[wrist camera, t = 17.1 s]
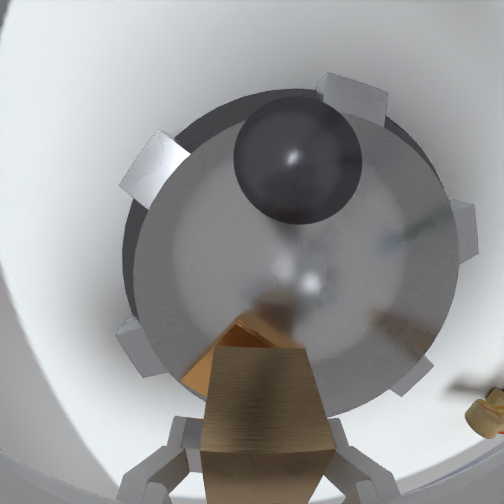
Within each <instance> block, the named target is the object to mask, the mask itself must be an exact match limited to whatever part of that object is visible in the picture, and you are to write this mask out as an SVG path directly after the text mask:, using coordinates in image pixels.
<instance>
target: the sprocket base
mask: <svg viewBox="0 0 504 504" xmlns="http://www.w3.org/2000/svg"><path fill="white" fill-rule="evenodd" d="M315 94H316V90H308V89H284V90H272V91H266V92H261V93H257V94H253V95H249V96H245V97H242V98H239V99H237V100H234V101H232V102H229V103H227V104H224V105H222V106H219V107H218V108H216V109H214V110H212V111H211V112H209V113H207V114H206V115H204V116H202V117H201V118H199V119H197V120H196V121H194V122H193V123H192V124H191V125H189V126H188V127H187V128H186V129H184V130H183V131H182V132H181V133H180V134H178V135H177V136H176V137H175V139H176V140H177V141H178V142H180V143H181V144H182V145H184V146H185V147H186V148H188V149H189V150H190V151H191V152H194V151H195V150H196V149H197V148H198V147H200V146H201V145H202V144H203V143H204V142H206V141H208V140H209V139H211V138H212V137H214V136H216V135H217V134H219V133H220V132H222V131H224V130H225V129H227V128H229V127H231V126H234V125H236V124H238V123H241V122H243V121H245V120H247V119H248V117H249V116H250V115H251V114H252V113H253V112H254V111H256V110H257V109H258V108H260V107H261V106H263V105H264V104H266V103H268V102H270V101H273V100H275V99H279V98H283V97H290V96H303V97H309V98H313V99H315ZM384 128H385V129H387V130H389V131H390V132H392V133H394V134H395V135H397V136H398V137H400V138H401V139H402V140H403V141H405V142H406V143H407V144H408V145H409V146H411V147H412V148H413V149H414V150H415V151H416V152H417V153H418V154H419V155H420V156H421V157H422V158H423V160H424V161H425V162H426V163H427V164H428V165H429V167H430V168H431V169H432V171H433V172H434V174H435V175H436V177H437V179H438V180H439V182H440V183H441V181H440V179H439V177H438V175H437V173H436V171H435V169H434V167H433V165H432V164H431V162H430V161H429V159H428V158H427V156H426V155H425V153H424V152H423V151H422V149H421V148H420V147H419V146H418V144H417V143H416V142H415V141H414V140H413V139H412V138H411V137H410V136H409V135H408V133H407V132H405V131H404V130H403V129H402V128H401V127H400V126H398V125H397V124H396V123H395V122H393V121H392V120H391V119H390V118H388V117H387V116H385V123H384ZM441 185H442V183H441ZM442 187H443V186H442ZM443 189H444V188H443ZM147 213H148V209H147V208H145V207H144V206H143V205H142V204H140V203H139V202H138V201H137V200H136V199H133V201H132V205H131V208H130V211H129V215H128V218H127V222H126V226H125V233H124V240H123V248H122V261H123V277H124V283H125V289H126V294H127V298H128V301H129V304H130V308H131V311H132V314H133V316H136V315H138V312H137V307H136V302H135V296H134V281H133V269H134V259H135V251H136V246H137V242H138V238H139V234H140V231H141V227H142V224H143V222H144V220H145V217H146V215H147Z"/></svg>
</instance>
